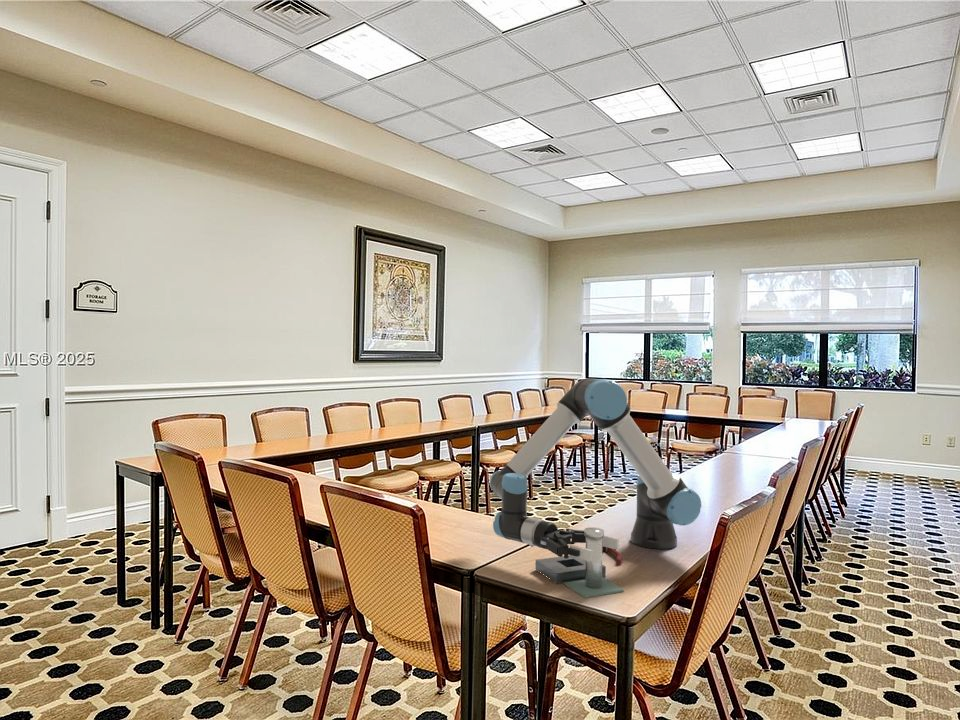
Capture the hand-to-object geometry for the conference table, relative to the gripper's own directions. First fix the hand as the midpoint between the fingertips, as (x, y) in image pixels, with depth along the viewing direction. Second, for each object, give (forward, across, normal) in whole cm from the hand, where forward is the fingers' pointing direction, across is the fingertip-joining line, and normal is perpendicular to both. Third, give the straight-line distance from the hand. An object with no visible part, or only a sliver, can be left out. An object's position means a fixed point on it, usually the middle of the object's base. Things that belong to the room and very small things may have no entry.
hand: (605, 550), depth 164 cm
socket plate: (-14, -5, -11) cm, 19 cm away
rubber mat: (-3, 0, -11) cm, 11 cm away
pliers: (-14, -28, -12) cm, 34 cm away
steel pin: (-3, 0, -10) cm, 11 cm away
